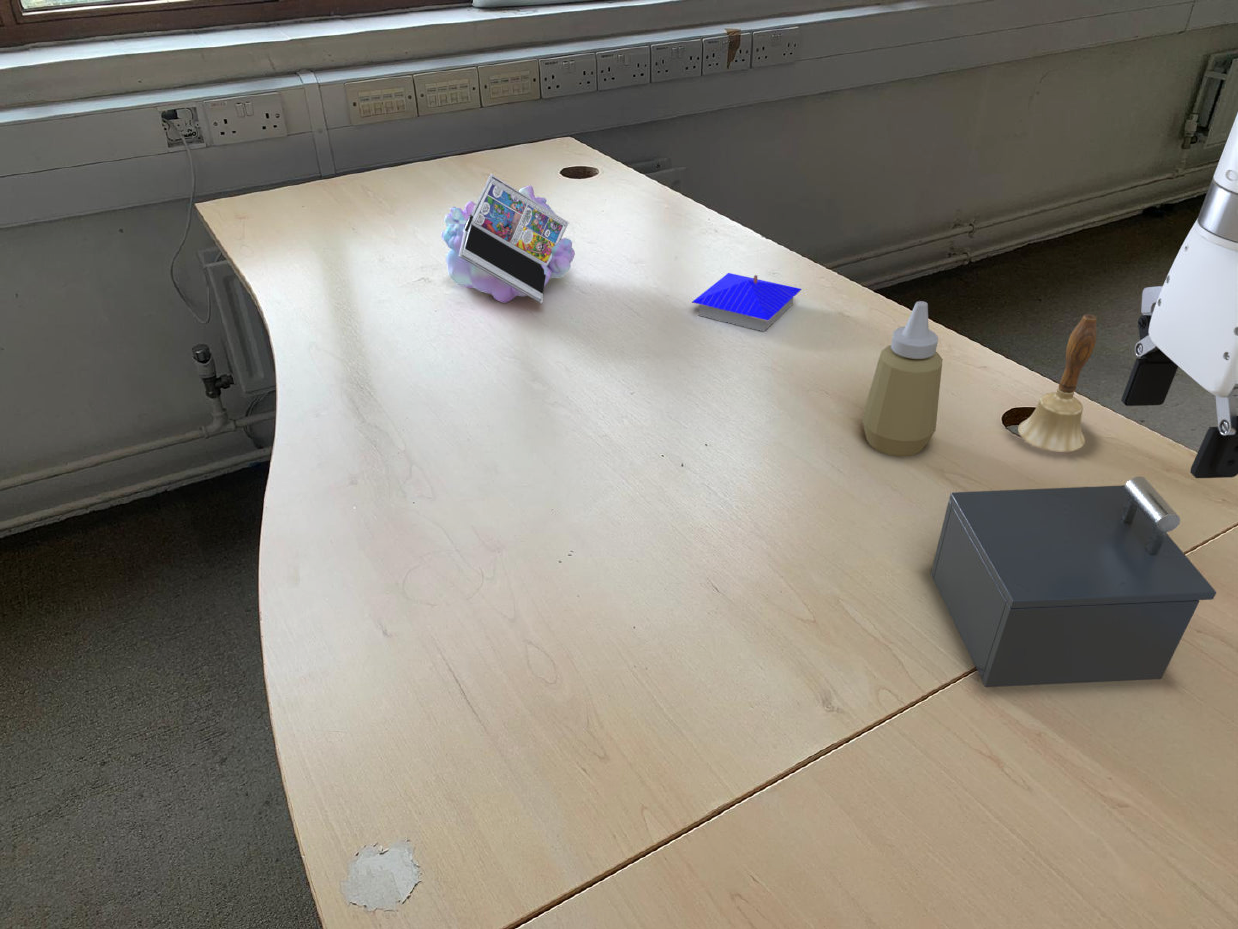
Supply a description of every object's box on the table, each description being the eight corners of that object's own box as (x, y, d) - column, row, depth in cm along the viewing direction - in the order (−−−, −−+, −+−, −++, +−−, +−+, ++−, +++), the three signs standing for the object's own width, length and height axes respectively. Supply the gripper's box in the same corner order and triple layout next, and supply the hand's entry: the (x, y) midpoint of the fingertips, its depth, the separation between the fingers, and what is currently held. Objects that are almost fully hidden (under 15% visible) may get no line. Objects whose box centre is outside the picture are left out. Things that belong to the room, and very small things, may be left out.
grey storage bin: (1081, 575, 85) (1112, 493, 79) (1157, 687, 74) (1200, 601, 68) (928, 582, 85) (948, 499, 79) (982, 696, 73) (1010, 609, 68)
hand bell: (1103, 446, 102) (1148, 318, 93) (1060, 471, 99) (1103, 341, 89) (1038, 415, 108) (1075, 291, 99) (995, 437, 104) (1029, 312, 95)
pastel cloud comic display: (516, 217, 153) (464, 137, 138) (617, 238, 141) (573, 154, 127) (452, 311, 147) (391, 239, 133) (553, 341, 136) (498, 265, 121)
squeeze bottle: (920, 476, 98) (952, 327, 88) (848, 456, 102) (871, 310, 91) (938, 440, 104) (970, 296, 94) (869, 422, 107) (893, 281, 97)
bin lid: (1123, 492, 79) (1141, 445, 76) (1213, 600, 68) (1238, 550, 65) (948, 499, 79) (960, 452, 76) (1010, 609, 68) (1027, 559, 65)
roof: (766, 335, 126) (770, 300, 123) (691, 316, 131) (692, 282, 128) (800, 303, 134) (803, 269, 131) (727, 286, 139) (729, 253, 136)
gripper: (1429, 268, 51) (1299, 506, 61) (1243, 173, 65) (1161, 379, 75) (1300, 271, 51) (1190, 510, 61) (1141, 175, 65) (1073, 381, 75)
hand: (1174, 437), depth 68 cm, fingers open, 9 cm apart
